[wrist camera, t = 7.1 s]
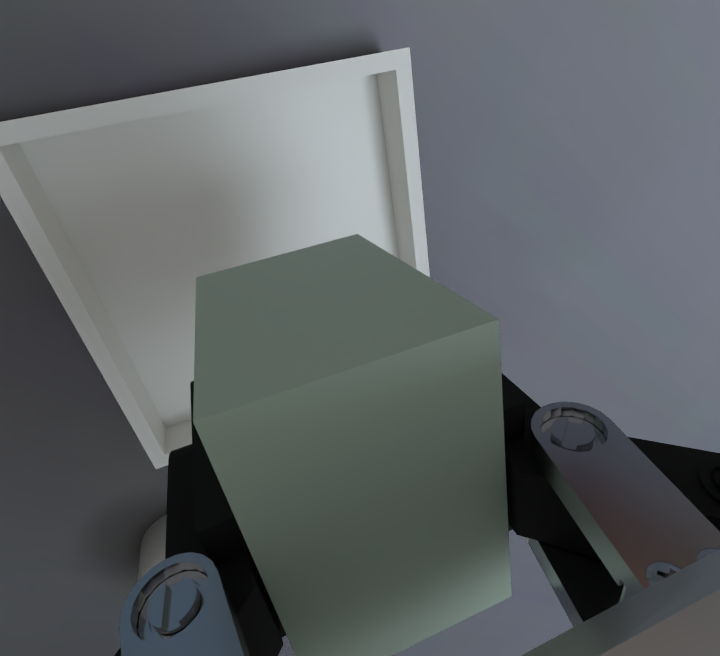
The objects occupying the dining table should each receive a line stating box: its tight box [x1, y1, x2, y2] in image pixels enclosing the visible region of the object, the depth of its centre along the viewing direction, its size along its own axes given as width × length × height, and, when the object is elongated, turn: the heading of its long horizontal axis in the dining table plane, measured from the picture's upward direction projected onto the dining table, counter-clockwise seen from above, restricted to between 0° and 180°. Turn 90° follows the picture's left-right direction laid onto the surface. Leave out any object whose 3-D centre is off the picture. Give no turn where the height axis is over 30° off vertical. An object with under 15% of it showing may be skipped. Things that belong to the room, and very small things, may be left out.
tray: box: [0, 47, 430, 469], centre depth 19 cm, size 14×14×2 cm
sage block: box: [193, 234, 511, 656], centre depth 9 cm, size 6×4×6 cm, turn 10°
